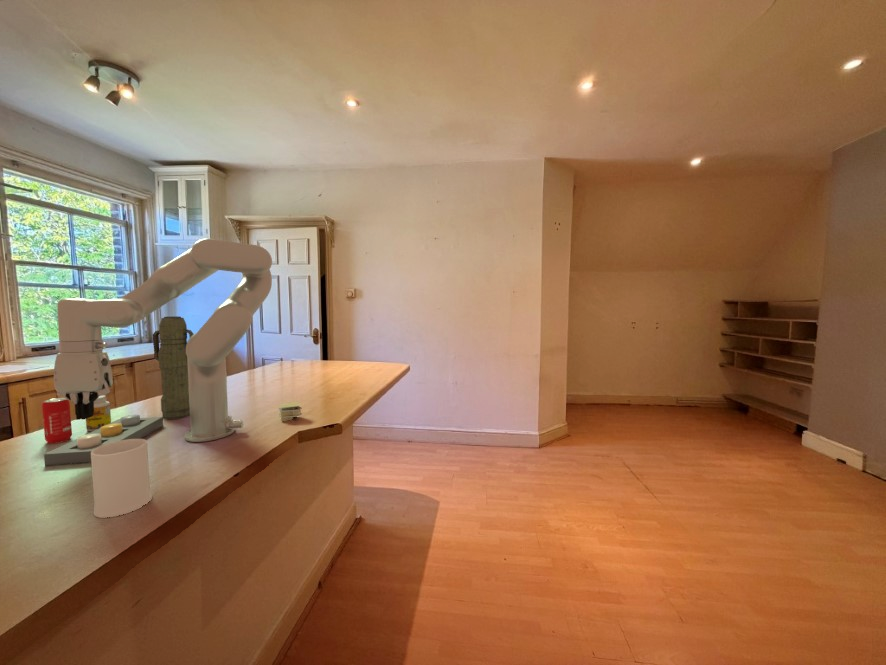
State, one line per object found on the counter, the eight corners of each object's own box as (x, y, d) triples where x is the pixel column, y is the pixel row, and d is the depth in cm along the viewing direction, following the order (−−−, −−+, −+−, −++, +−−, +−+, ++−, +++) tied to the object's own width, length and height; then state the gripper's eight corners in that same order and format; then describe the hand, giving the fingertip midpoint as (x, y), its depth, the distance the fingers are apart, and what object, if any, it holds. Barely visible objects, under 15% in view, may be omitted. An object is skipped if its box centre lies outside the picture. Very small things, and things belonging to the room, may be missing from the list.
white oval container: (108, 492, 73) (104, 437, 72) (159, 482, 77) (156, 430, 76) (85, 523, 62) (80, 459, 61) (146, 510, 67) (142, 450, 66)
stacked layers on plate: (275, 426, 113) (275, 410, 112) (273, 418, 121) (273, 403, 120) (308, 421, 118) (307, 406, 117) (304, 414, 126) (303, 399, 125)
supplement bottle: (81, 432, 105) (79, 399, 104) (95, 426, 111) (93, 395, 110) (103, 431, 107) (101, 398, 106) (115, 425, 112) (113, 394, 111)
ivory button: (106, 445, 92) (105, 432, 92) (93, 452, 88) (92, 439, 88) (86, 446, 91) (85, 434, 91) (72, 453, 87) (71, 440, 87)
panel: (163, 425, 112) (162, 416, 111) (103, 461, 86) (102, 450, 86) (119, 428, 109) (118, 419, 109) (44, 466, 84) (43, 454, 83)
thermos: (163, 413, 124) (157, 316, 121) (201, 410, 128) (196, 316, 125) (151, 421, 116) (145, 317, 113) (192, 417, 120) (187, 317, 117)
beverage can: (54, 445, 96) (50, 402, 95) (40, 443, 97) (36, 401, 96) (77, 438, 101) (74, 398, 100) (63, 436, 102) (60, 396, 101)
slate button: (143, 424, 108) (143, 414, 108) (134, 429, 104) (133, 418, 103) (127, 425, 107) (126, 415, 107) (117, 430, 103) (116, 419, 102)
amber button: (126, 434, 100) (125, 422, 100) (115, 440, 96) (114, 428, 96) (108, 435, 99) (107, 423, 99) (96, 441, 95) (96, 429, 95)
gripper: (126, 345, 93) (128, 412, 94) (58, 345, 89) (62, 414, 91) (105, 349, 85) (108, 421, 87) (31, 349, 82) (35, 424, 83)
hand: (85, 417), depth 89 cm, fingers closed
